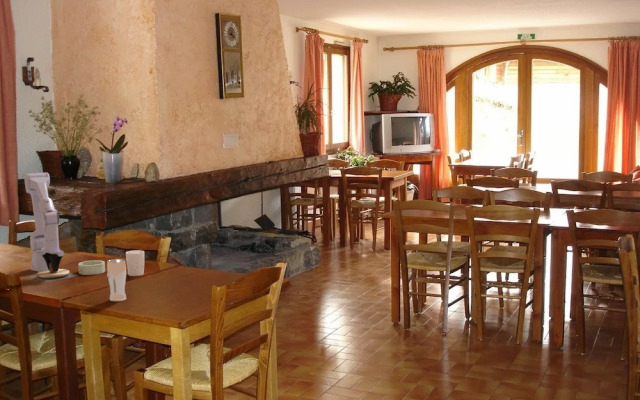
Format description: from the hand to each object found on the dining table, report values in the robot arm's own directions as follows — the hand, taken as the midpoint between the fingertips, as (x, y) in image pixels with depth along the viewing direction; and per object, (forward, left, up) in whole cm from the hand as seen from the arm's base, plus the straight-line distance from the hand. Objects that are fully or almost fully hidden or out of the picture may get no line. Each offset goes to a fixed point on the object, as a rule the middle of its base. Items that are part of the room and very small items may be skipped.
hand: (53, 270), depth 308 cm
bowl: (+6, +15, -3) cm, 16 cm away
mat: (0, 0, -3) cm, 3 cm away
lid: (0, 0, -2) cm, 2 cm away
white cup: (+24, +25, -3) cm, 35 cm away
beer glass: (+53, -5, -3) cm, 53 cm away
